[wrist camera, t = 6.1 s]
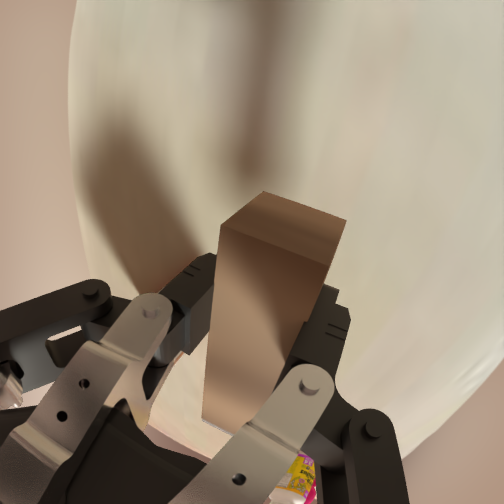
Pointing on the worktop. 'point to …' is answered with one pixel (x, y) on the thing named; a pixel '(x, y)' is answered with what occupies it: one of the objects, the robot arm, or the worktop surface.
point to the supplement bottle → (295, 482)
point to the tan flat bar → (262, 301)
